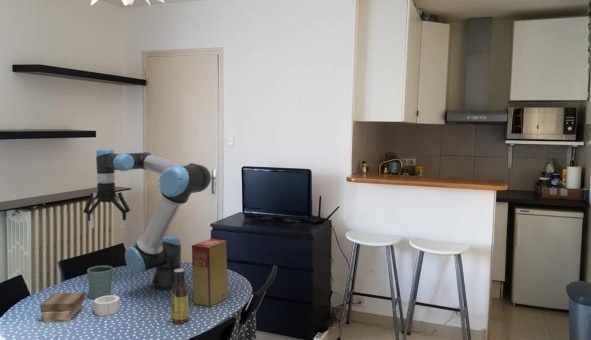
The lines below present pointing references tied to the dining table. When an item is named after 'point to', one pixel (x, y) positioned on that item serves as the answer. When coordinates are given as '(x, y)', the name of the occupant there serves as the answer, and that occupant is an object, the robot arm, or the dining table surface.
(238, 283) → the dining table surface
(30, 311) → the dining table surface
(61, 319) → the light wooden block
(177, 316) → the sauce bottle
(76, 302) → the cover board
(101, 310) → the bowl
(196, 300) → the food packaging
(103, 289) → the grey-green cup
